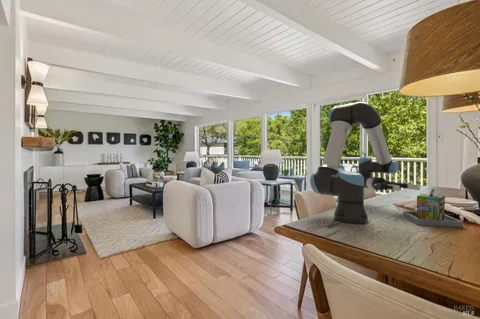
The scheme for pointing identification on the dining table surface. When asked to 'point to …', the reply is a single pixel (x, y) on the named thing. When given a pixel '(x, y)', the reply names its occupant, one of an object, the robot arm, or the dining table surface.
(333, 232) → the dining table surface
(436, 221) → the tray
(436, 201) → the chalk box
